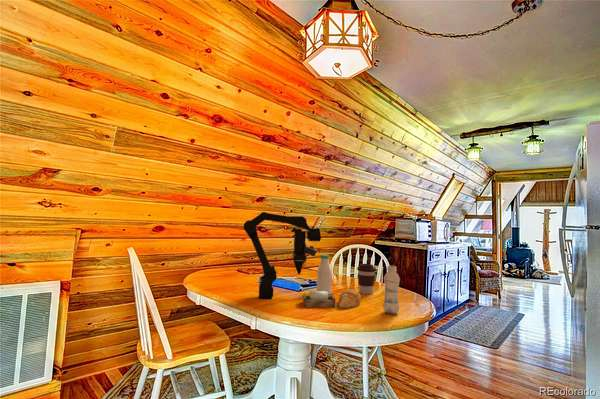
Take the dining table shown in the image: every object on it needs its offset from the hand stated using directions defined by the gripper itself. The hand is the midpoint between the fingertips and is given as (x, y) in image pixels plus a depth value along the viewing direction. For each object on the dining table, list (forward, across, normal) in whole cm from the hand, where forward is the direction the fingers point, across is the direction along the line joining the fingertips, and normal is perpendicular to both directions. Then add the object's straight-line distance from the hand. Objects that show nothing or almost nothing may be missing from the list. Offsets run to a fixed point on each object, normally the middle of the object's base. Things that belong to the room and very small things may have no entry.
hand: (298, 272), depth 161 cm
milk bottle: (+12, +8, -14) cm, 20 cm away
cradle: (+12, -13, -9) cm, 20 cm away
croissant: (+12, -11, -24) cm, 29 cm away
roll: (+11, -13, -9) cm, 19 cm away
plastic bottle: (+12, -24, -39) cm, 47 cm away
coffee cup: (+12, +11, -37) cm, 40 cm away
